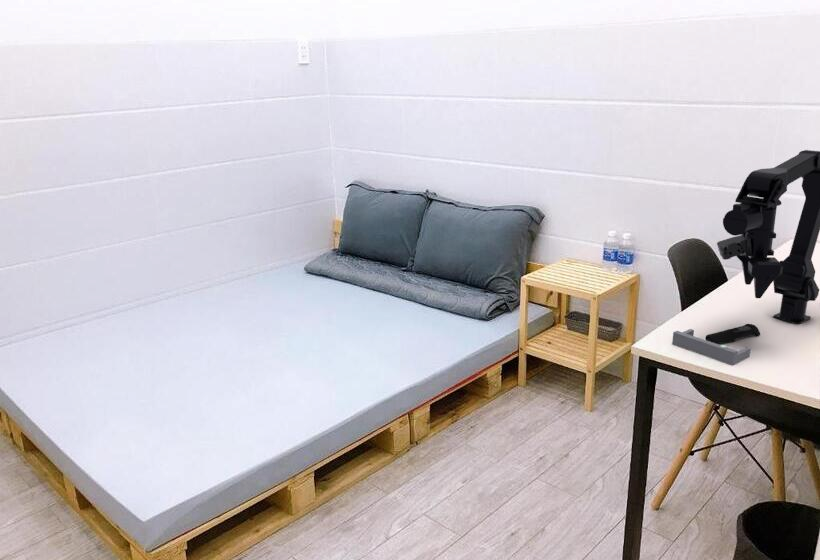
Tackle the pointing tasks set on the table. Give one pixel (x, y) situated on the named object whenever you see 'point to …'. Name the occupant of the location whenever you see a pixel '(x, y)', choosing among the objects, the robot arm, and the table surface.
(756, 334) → the electric trimmer
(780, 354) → the table surface
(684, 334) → the charging dock
